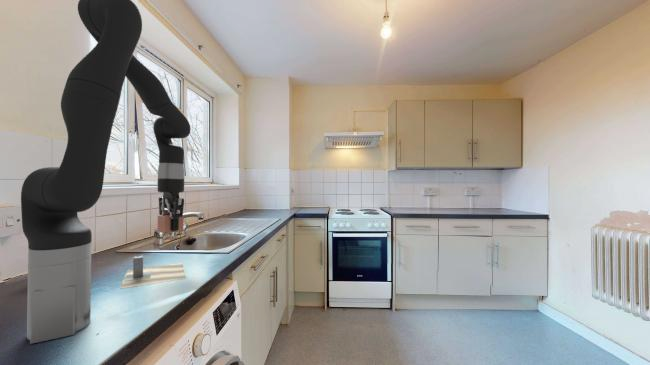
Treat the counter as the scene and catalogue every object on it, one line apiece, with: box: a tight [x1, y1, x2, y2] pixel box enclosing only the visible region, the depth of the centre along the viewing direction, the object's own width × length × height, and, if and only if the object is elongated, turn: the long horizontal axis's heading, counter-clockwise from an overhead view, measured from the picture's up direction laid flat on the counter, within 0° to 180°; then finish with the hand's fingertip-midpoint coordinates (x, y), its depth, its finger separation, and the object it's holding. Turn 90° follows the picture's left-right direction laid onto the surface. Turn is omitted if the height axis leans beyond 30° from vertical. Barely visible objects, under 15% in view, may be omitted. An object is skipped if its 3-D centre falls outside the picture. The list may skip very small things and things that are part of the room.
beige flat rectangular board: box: [119, 262, 187, 289], centre depth 84 cm, size 18×16×1 cm
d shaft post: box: [132, 255, 144, 278], centre depth 82 cm, size 2×2×7 cm
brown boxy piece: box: [157, 214, 185, 234], centre depth 87 cm, size 6×6×5 cm
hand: (170, 229), depth 86 cm, fingers closed on brown boxy piece, 5 cm apart
